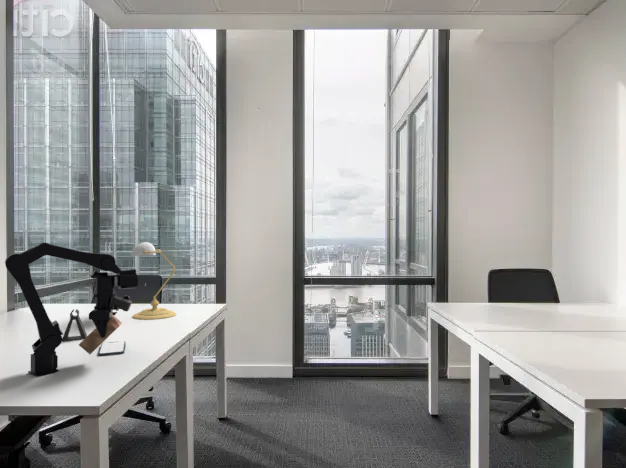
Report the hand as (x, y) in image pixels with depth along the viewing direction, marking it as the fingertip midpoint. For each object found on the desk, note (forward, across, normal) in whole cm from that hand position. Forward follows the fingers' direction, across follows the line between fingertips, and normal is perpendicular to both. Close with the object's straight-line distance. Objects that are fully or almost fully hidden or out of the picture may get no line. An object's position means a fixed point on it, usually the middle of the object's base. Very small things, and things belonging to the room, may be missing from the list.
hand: (104, 335), depth 149 cm
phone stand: (+10, +41, +20) cm, 47 cm away
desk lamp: (+9, +87, -8) cm, 88 cm away
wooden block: (+4, 0, +6) cm, 7 cm away
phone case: (+10, +18, +1) cm, 20 cm away
